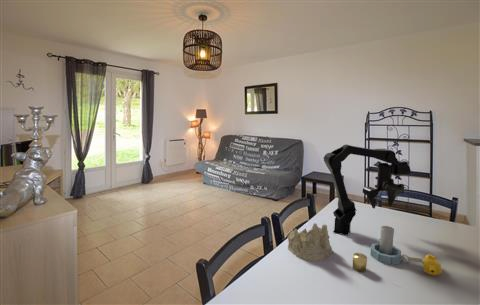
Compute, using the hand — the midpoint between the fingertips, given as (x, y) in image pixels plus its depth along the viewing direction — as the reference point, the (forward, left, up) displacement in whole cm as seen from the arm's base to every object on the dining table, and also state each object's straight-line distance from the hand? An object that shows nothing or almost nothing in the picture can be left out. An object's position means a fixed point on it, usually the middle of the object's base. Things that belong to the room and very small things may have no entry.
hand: (381, 207), depth 122 cm
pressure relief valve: (+14, -26, -12) cm, 32 cm away
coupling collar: (+3, -24, -12) cm, 27 cm away
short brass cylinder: (-5, -38, -12) cm, 40 cm away
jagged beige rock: (-24, -34, -12) cm, 44 cm away
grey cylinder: (+3, -24, -12) cm, 27 cm away
